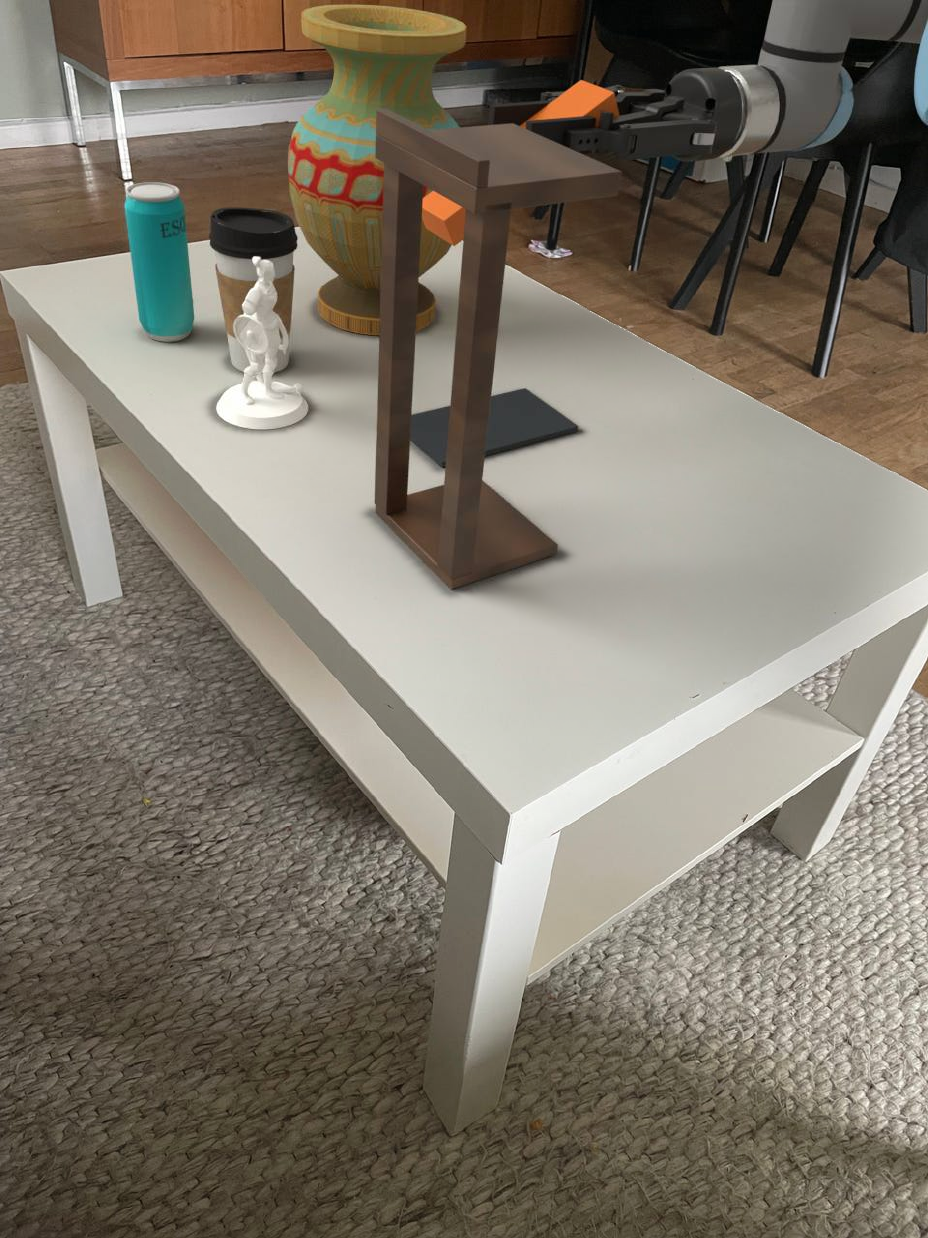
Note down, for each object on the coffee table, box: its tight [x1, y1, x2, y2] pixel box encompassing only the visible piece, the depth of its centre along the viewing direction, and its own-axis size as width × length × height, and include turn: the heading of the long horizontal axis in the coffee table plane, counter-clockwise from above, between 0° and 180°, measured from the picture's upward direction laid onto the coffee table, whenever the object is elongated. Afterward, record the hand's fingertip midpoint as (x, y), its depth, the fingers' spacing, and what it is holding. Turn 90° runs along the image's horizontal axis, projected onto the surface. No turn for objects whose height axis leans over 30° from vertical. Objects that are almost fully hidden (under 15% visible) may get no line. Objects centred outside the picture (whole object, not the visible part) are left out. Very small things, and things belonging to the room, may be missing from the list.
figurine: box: [216, 256, 309, 430], centre depth 93 cm, size 9×9×15 cm
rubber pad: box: [410, 387, 579, 468], centre depth 98 cm, size 16×9×1 cm, turn 123°
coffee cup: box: [208, 206, 298, 375], centre depth 101 cm, size 8×8×15 cm
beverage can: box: [124, 181, 195, 343], centre depth 105 cm, size 6×6×15 cm
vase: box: [287, 3, 467, 336], centre depth 109 cm, size 20×20×30 cm
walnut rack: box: [374, 109, 623, 590], centre depth 74 cm, size 11×12×32 cm
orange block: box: [422, 79, 619, 247], centre depth 83 cm, size 18×4×2 cm, turn 123°
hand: (509, 131), depth 81 cm, fingers closed on orange block, 4 cm apart
